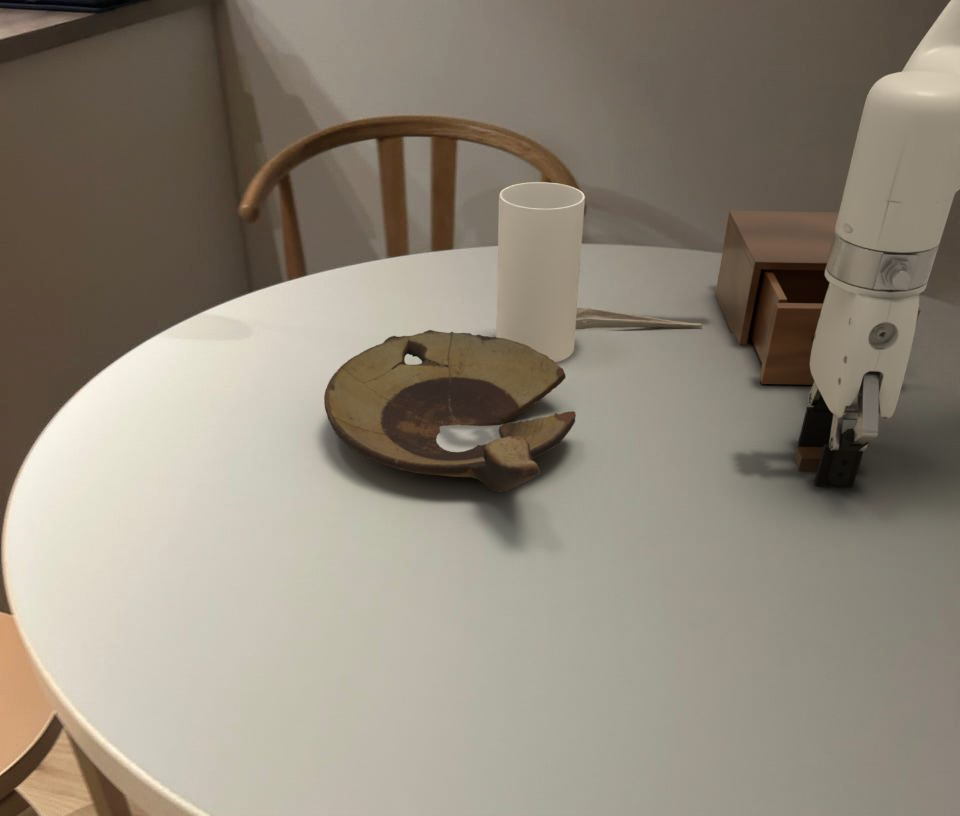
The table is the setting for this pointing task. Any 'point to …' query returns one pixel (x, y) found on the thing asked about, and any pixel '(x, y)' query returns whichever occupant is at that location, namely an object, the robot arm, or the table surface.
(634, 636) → the table surface
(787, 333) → the drawer
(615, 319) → the tweezers
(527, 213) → the cup
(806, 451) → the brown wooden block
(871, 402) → the robot arm
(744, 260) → the cabinet
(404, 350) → the broken ceramic dish
